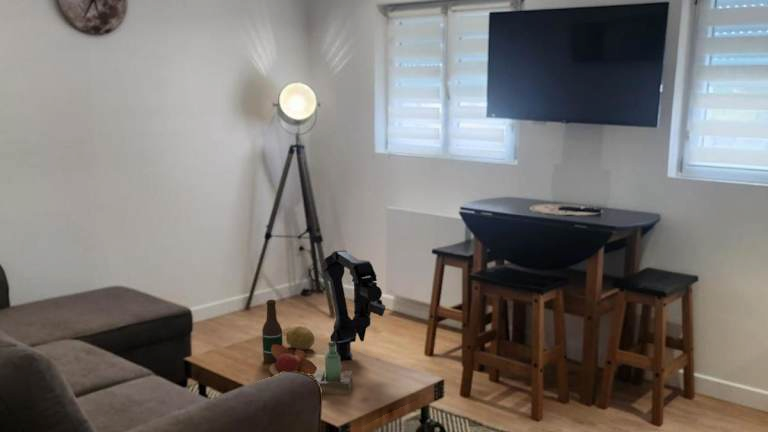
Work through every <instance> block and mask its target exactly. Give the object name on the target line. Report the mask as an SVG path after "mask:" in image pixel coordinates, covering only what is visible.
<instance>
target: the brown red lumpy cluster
mask: <svg viewBox="0 0 768 432" xmlns="http://www.w3.org/2000/svg"><path fill="white" fill-rule="evenodd" d="M271 352H272V354H273V356H274V357H275V358H276V359H277V361H276V364H273V367H274V370H275V371H276V372H277V373H278V374H279V373H280V372H282V371H297V372H299V371H300V373H301V372H304V373H306V374H308V373H309V374H313V375H315V374H316V372H317V366H316V365H315V364H314V363H313V362H312V361H311V360H310V359H307V357H308V355H307V353H306V352H305V351H304V350H298V349H295V350H294V355H293V354H291V353H290V350H289V349H288V348H286V347H285V346H284V345H283V346H282V345H280V344H273V345H272V348H271Z"/></svg>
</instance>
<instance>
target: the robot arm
mask: <svg viewBox="0 0 768 432" xmlns="http://www.w3.org/2000/svg"><path fill="white" fill-rule="evenodd" d="M345 268H346V269H347V270H349V274H350V275H351V277H352V279H351V282H353V314H354V316H352V318H351V317H350V316H349V312H348V304H347V301H346V294H345V291H344V285H343V277H344V276H345V275H344V274H345ZM321 270H322V272H323V275H324V277H325V279H326V280H327V281H328V283H329V286H330V291H331V296H332V301H333V302H332V303H333V307H334V313H335V317H336V318H335V319H336V320H335V322H334V324H333V331H332V333H331V335H330V336H329V337H330V342H331V341H334V342H336V352H337V353H338V355H340V361H341V360H343V361H345V360H346V361H349V360H350V361H351V360H353V359H352V358H353V353H352V352H351V351H352V350H351V343H353V342H354V343H356V340H357V336H358V338H359V340H360V342H364V340H365V336H366V332H367V328H368V327H370V326H371V313H372V314H375V315H378V316H379V317H383V315H384V314H385V310H386V305H385V304H384V303H383V300H382V299H381V298H382V295H383V291H382V289H381V287H379V286H378V283H377V281H378V280H377V274H376V272H375V270H374V267H373V265H372V263H371V262H370V261H369V260H365V259H358V258H356V257H354V256H353V255H352V254H351V253H348V252H347V250H346V249H345V250H344V249H342V250H341V249H340V250H338V249H337V250H335V251H332V252H331V254H330V255H328V256H327V257H325V258H324V260H323V261H322V263H321Z"/></svg>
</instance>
